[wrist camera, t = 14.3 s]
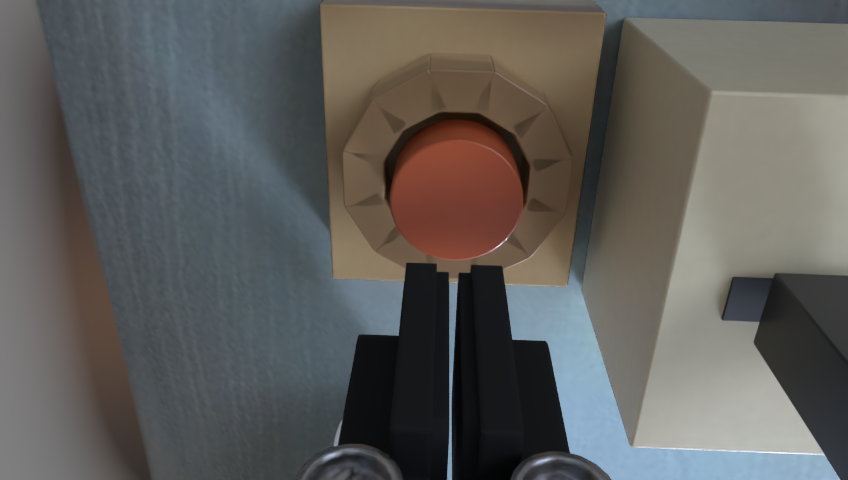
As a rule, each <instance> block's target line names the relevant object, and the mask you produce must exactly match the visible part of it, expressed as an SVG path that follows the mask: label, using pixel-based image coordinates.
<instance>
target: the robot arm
mask: <svg viewBox="0 0 848 480" xmlns="http://www.w3.org/2000/svg"><path fill="white" fill-rule="evenodd" d="M448 445H449V272H437V263H406V270H405V280H404V290H403V299H402V309H401V319H400V329H399V336H388V335H359V336H358V340H357V344H356V350H355V355H354V361H353V366H352V371H351V377H350V382H349V388H348V393H347V398H346V404H345V409H344V414H343V420H342V425H341V431H340V436H339V441H338V446H333V447H330V448H328V449H326V450H324V451H321V452H319V453H317V454H316V455H315V456H313V457H312V458H311V459H310V460H309V461H307V462H306V463H305V464H304V466H303V467H302V469H301V470H300V472H299V474H298V475H297V477H296V479H295V480H447V464H448ZM452 480H611V479H610V477H609V476H608V475H607V474H606V473H605V472H604V471H603V470H602V469H601V468H600V467H598V466H597V465H596V464H594V463H593V462H591V461H589V460H587V459H585V458H583V457H581V456H578V455H574V454H571V453H570V451H569V447H568V442H567V437H566V432H565V427H564V422H563V417H562V412H561V407H560V402H559V397H558V392H557V387H556V382H555V377H554V372H553V367H552V362H551V357H550V352H549V348H548V344H547V342H546V341H530V340H512V335H511V327H510V320H509V312H508V304H507V297H506V289H505V281H504V274H503V267H502V266H497V265H471V268H470V273H462V272H459V274H458V291H457V310H456V329H455V347H454V366H453V385H452Z"/></svg>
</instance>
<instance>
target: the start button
mask: <svg viewBox="0 0 848 480" xmlns="http://www.w3.org/2000/svg"><path fill="white" fill-rule="evenodd" d="M523 199H524V196H523V188H522V184H521V179H520V175H519V171H518V166H517V162H516V159H515V156H514V154H513V152H512V150H511V148H510V147H509V145H508V144H507V142H506V141H505V140H504V139H503V138H502V137H501V136H500V135H499V134H498V133H497V132H495V131H494V130H492V129H491V128H489V127H487V126H485V125H483V124H481V123H478V122H475V121H471V120H465V119H448V120H442V121H438V122H435V123H432V124H430V125H428V126H426V127H424V128H422V129H421V130H419V131H418V132H416V133H415V134H414V135H413V136H412V137H411V138H410V139H409V140H408V141H407V142H406V143H405V145H404V146H403V147H402V149H401V151H400V153H399V155H398V157H397V160H396V164H395V168H394V174H393V179H392V185H391V190H390V209H391V214H392V217H393V220H394V223H395V225H396V226H397V228H398V230H399V231H400V233H401V234H402V236H403V237H404V238H405V239H406V240H407V241H408V242H409V243H410V244H411V245H413V246H414V247H415V248H417V249H418V250H420V251H421V252H423V253H425V254H428V255H430V256H433V257H436V258H440V259H445V260H467V259H473V258H477V257H480V256H482V255H485V254H487V253H489V252H491V251H493V250H494V249H496V248H497V247H499V246H500V245H501V244H502V243H503V242H505V241H506V240H507V239H508V237H509V236H510V235H511V234H512V232H513V231H514V229H515V228H516V226H517V224H518V222H519V220H520V217H521V214H522V209H523Z"/></svg>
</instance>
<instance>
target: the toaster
mask: <svg viewBox="0 0 848 480" xmlns="http://www.w3.org/2000/svg"><path fill="white" fill-rule="evenodd" d="M775 273H790V274H818V275H846V276H848V24H833V23H799V22H765V21H731V20H697V19H663V18H629V17H627V18H625V19H624V20H623V27H622V33H621V39H620V46H619V52H618V59H617V65H616V71H615V78H614V84H613V91H612V97H611V104H610V110H609V116H608V123H607V129H606V136H605V142H604V149H603V155H602V161H601V168H600V174H599V181H598V187H597V194H596V200H595V206H594V213H593V219H592V226H591V232H590V239H589V245H588V251H587V258H586V264H585V271H584V277H583V284H582V290H581V291H582V294H583V297H584V300H585V303H586V307H587V310H588V313H589V316H590V319H591V323H592V326H593V329H594V332H595V335H596V339H597V342H598V345H599V348H600V351H601V355H602V358H603V361H604V364H605V367H606V371H607V374H608V377H609V380H610V383H611V387H612V390H613V393H614V396H615V399H616V403H617V406H618V409H619V412H620V415H621V418H622V422H623V425H624V428H625V431H626V434H627V438H628V441H629V444H630V446H631V447H637V448H662V449H687V450H712V451H737V452H762V453H787V454H812V455H825V454H824V453H823V451H822V450H821V448H820V447H819V445H818V443H817V442H816V440H815V439H814V437H813V436H812V434H811V432H810V431H809V429H808V428H807V426H806V425H805V423H804V422H803V420H802V418H801V417H800V415H799V414H798V412H797V411H796V409H795V407H794V406H793V404H792V403H791V401H790V400H789V398H788V396H787V395H786V393H785V392H784V390H783V389H782V387H781V386H780V384H779V382H778V381H777V379H776V378H775V376H774V375H773V373H772V371H771V370H770V368H769V367H768V365H767V364H766V362H765V360H764V359H763V357H762V356H761V354H760V353H759V351H758V350H757V348H756V346H755V345H754V338H755V335H756V332H757V329H758V325H759V322H760V319H761V316H762V312H763V309H764V306H765V303H766V300H767V296H768V293H769V290H770V287H771V283H772V280H773V277H774V274H775Z"/></svg>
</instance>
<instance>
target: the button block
mask: <svg viewBox="0 0 848 480" xmlns="http://www.w3.org/2000/svg"><path fill="white" fill-rule="evenodd" d="M319 7H320V28H321V49H322V70H323V91H324V112H325V133H326V154H327V175H328V196H329V217H330V238H331V259H332V276H333V278H337V279H364V280H392V281H404V280H405V270H406V263H437V272H449V283H458V274H459V272H462V273H470V268H471V265H497V266H502V267H503V274H504V281H505V285H530V286H558V287H566V286H567V285H568V279H569V272H570V265H571V258H572V251H573V244H574V237H575V230H576V223H577V216H578V209H579V202H580V195H581V188H582V181H583V174H584V167H585V160H586V154H587V147H588V140H589V133H590V126H591V119H592V112H593V105H594V98H595V91H596V84H597V77H598V70H599V63H600V56H601V49H602V42H603V35H604V28H605V21H606V12H605V11H604V10H603V9H602V8H601V7H599V6H598V5H597V4H596V3H595V2H594V1H593V0H324V1H323V2H322V3H321V4H320V6H319ZM448 119H465V120H471V121H475V122H478V123H481V124H483V125H485V126H487V127H489V128H491V129H492V130H494V131H495V132H497V133H498V134H499V135H500V136H501V137H502V138H503V139H504V140H505V141H506V142H507V144H508V145H509V147H510V148H511V150H512V152H513V154H514V156H515V159H516V162H517V166H518V171H519V175H520V179H521V184H522V188H523V196H524V199H523V209H522V214H521V217H520V220H519V222H518V224H517V226H516V228H515V229H514V231H513V232H512V234H511V235H510V236H509V237H508V239H507V240H506V241H505V242H503V243H502V244H501V245H500V246H499V247H497V248H496V249H494V250H493V251H491V252H489V253H487V254H485V255H482V256H480V257H477V258H473V259H467V260H445V259H440V258H436V257H433V256H430V255H428V254H425V253H423V252H421V251H420V250H418V249H417V248H415V247H414V246H413V245H411V244H410V243H409V242H408V241H407V240H406V239H405V238H404V237H403V236H402V234H401V233H400V231H399V230H398V228H397V226H396V225H395V223H394V220H393V217H392V214H391V209H390V190H391V185H392V179H393V174H394V168H395V164H396V160H397V157H398V155H399V153H400V151H401V149H402V147H403V146H404V145H405V143H406V142H407V141H408V140H409V139H410V138H411V137H412V136H413V135H414V134H415V133H416V132H418V131H419V130H421V129H422V128H424V127H426V126H428V125H430V124H432V123H435V122H438V121H442V120H448Z"/></svg>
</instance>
